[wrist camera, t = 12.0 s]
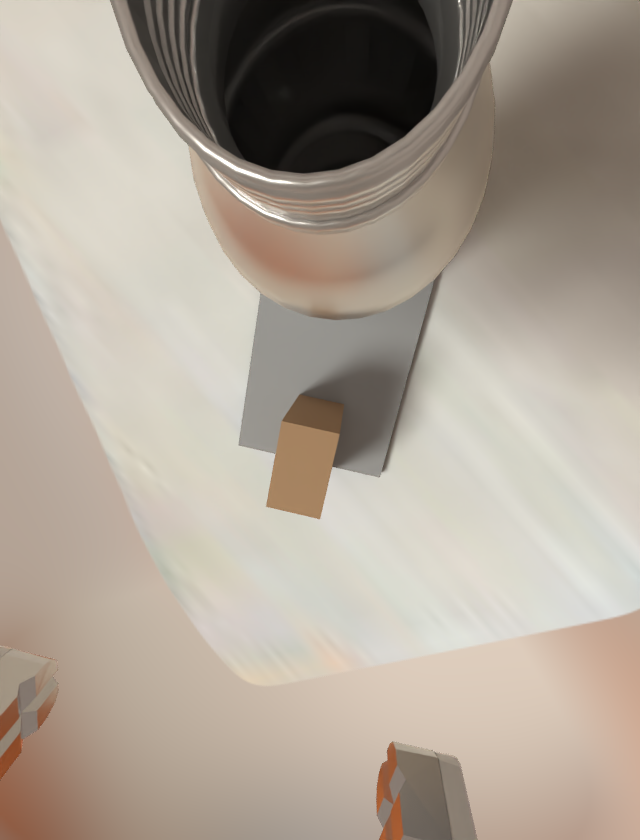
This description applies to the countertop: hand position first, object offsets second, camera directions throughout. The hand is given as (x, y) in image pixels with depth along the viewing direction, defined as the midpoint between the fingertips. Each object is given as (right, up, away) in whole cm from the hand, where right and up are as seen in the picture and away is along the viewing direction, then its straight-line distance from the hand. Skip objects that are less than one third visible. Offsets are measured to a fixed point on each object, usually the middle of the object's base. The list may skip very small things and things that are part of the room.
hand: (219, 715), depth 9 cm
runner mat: (+4, +14, +15) cm, 20 cm away
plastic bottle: (+4, +17, +13) cm, 22 cm away
